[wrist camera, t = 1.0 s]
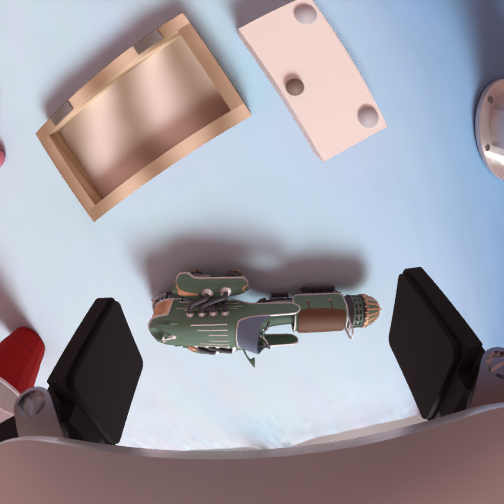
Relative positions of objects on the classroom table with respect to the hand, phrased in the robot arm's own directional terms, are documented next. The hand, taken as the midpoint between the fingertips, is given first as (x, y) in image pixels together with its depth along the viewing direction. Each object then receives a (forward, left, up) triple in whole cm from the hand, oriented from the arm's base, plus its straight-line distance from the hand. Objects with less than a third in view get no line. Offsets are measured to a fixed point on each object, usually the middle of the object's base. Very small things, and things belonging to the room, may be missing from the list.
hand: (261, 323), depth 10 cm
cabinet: (+6, -10, -21) cm, 25 cm away
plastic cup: (+41, +3, -22) cm, 46 cm away
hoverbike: (+6, +13, -22) cm, 26 cm away
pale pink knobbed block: (-9, -5, -22) cm, 24 cm away
